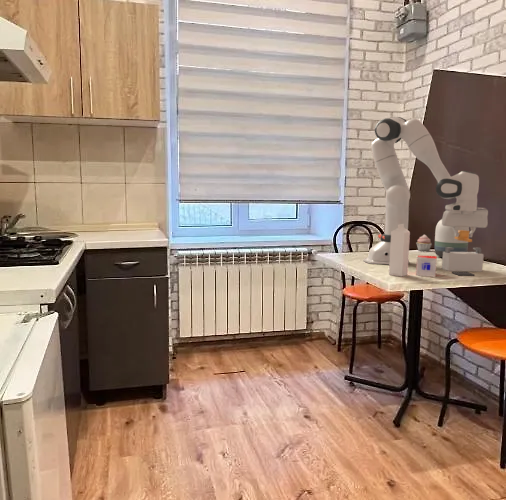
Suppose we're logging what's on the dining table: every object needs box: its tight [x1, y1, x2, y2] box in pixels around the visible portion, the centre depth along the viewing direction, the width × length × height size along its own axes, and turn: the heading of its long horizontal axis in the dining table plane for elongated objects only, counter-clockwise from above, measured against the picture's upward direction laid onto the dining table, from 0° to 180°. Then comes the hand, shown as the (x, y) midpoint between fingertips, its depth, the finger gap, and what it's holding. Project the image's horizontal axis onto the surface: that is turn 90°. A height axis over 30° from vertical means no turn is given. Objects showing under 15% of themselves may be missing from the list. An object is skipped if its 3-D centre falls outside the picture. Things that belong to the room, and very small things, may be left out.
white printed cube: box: [415, 254, 438, 277], centre depth 217 cm, size 8×8×8 cm
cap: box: [455, 230, 473, 243], centre depth 229 cm, size 13×5×4 cm, turn 5°
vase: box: [434, 218, 470, 258], centre depth 270 cm, size 17×17×24 cm
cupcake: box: [415, 234, 433, 252], centre depth 298 cm, size 9×9×10 cm
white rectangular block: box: [441, 247, 484, 272], centre depth 231 cm, size 16×7×10 cm, turn 92°
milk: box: [388, 224, 411, 277], centre depth 214 cm, size 6×6×22 cm
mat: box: [451, 271, 475, 277], centre depth 219 cm, size 7×7×1 cm
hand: (463, 236), depth 229 cm, fingers closed on cap, 5 cm apart
